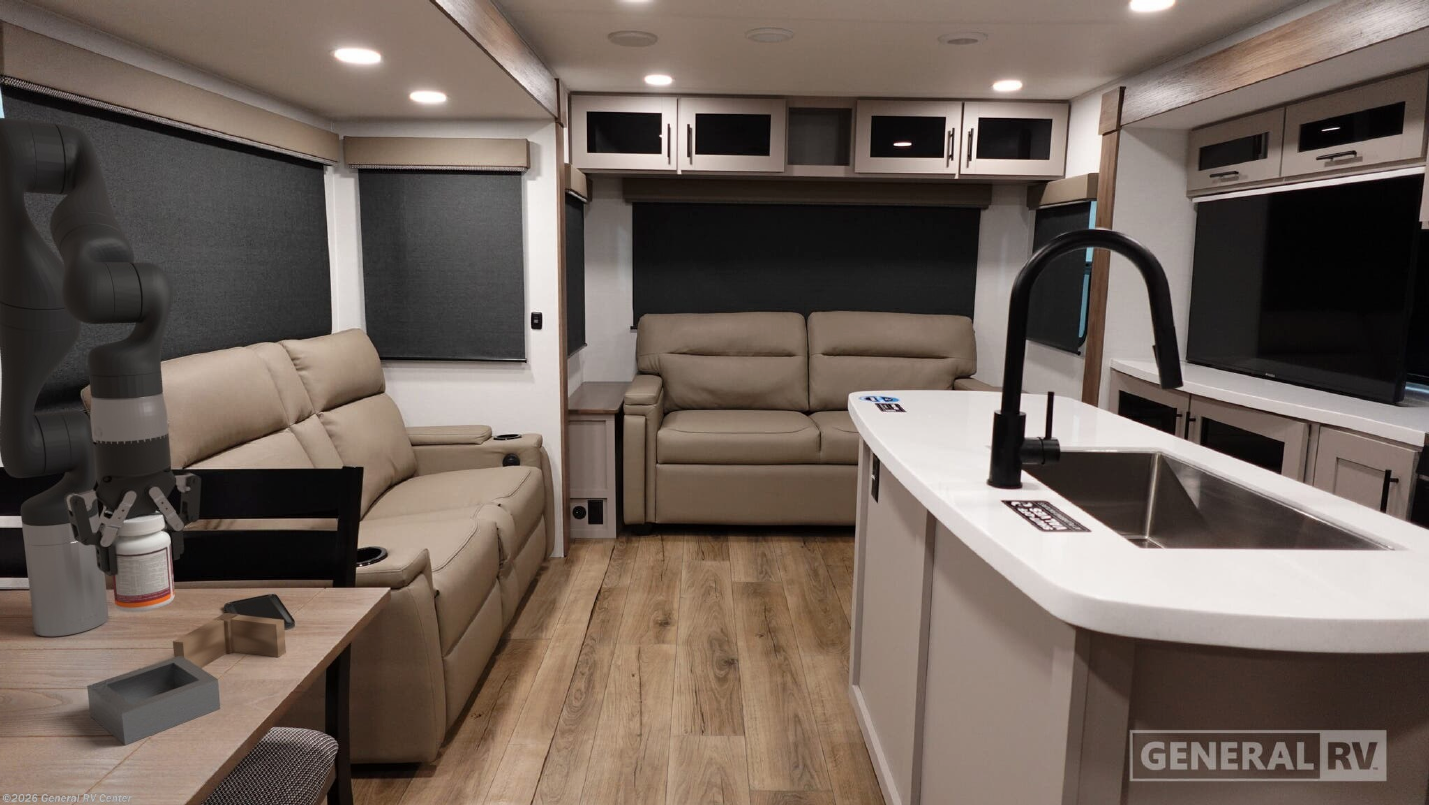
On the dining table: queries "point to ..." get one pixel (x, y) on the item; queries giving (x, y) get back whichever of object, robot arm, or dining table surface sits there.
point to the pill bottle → (143, 564)
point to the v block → (232, 638)
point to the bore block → (153, 699)
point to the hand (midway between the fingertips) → (142, 565)
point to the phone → (262, 609)
